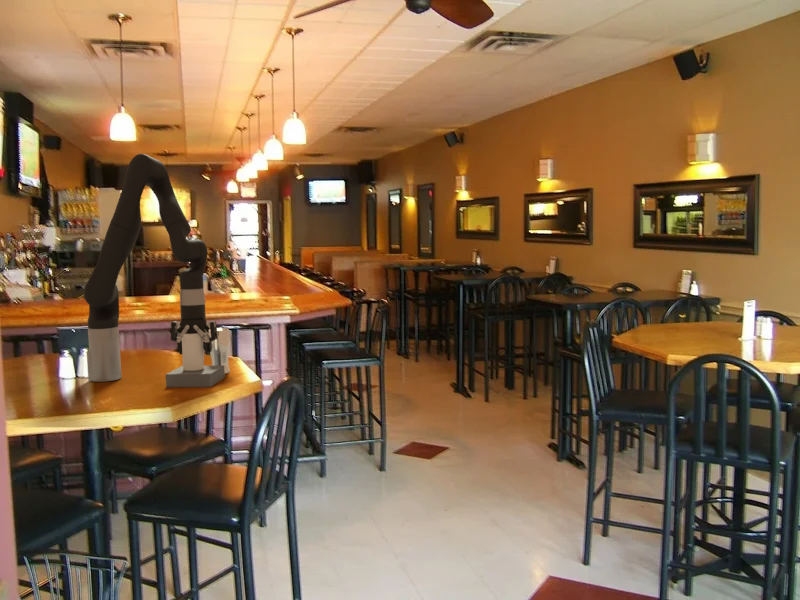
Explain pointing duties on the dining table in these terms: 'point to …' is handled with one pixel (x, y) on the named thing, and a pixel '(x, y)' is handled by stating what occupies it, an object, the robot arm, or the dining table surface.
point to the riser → (195, 377)
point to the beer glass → (221, 349)
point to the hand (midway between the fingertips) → (194, 354)
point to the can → (192, 352)
